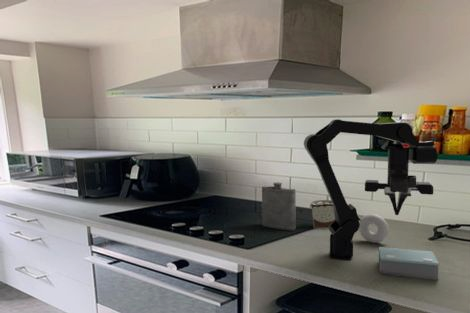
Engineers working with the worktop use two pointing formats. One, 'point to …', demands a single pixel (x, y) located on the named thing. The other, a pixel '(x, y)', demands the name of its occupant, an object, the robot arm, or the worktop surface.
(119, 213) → the worktop surface
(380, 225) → the donut
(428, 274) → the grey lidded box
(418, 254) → the cover
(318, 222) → the food container
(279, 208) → the flask
